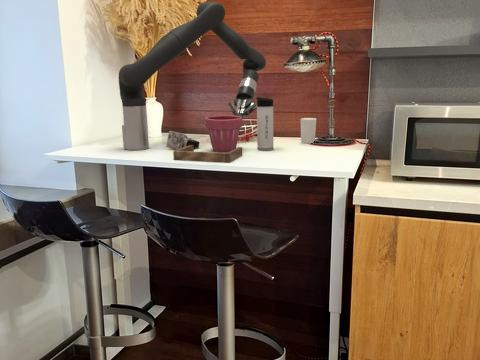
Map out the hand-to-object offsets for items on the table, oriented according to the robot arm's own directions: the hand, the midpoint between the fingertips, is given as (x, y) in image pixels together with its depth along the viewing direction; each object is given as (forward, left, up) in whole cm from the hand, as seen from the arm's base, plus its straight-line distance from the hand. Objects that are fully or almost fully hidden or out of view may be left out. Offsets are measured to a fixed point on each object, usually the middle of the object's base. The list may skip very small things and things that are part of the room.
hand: (238, 121), depth 190 cm
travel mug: (+15, -12, -9) cm, 21 cm away
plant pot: (0, -17, -9) cm, 19 cm away
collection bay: (0, -32, -9) cm, 33 cm away
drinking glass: (+28, +8, -9) cm, 31 cm away
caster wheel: (-17, -17, -9) cm, 26 cm away
